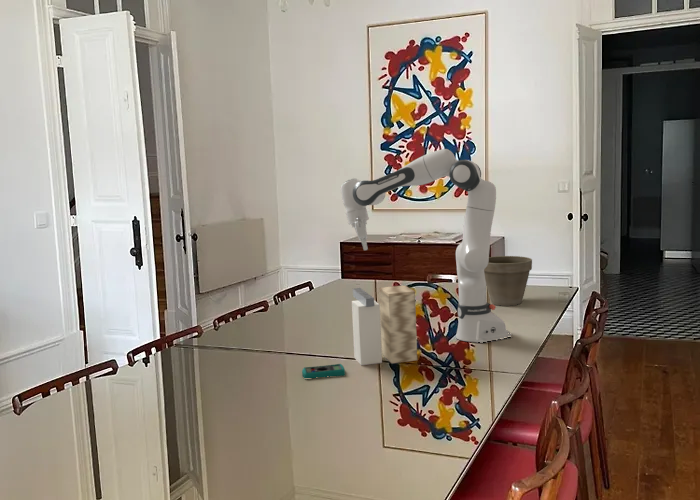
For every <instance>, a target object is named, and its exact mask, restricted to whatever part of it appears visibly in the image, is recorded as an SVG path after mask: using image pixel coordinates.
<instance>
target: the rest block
mask: <svg viewBox="0 0 700 500" xmlns="http://www.w3.org/2000/svg"><path fill="white" fill-rule="evenodd" d="M351 315H352V316H351V317H352V335H353V336H352V337H353V354H354V356H353V357H354V359H355V360H356V361H357V362H358V363H359V365H360V366H366V365H367V366H368V365H376V364H382V363H383V355H382V336H381V312H380V303H378V302H377V301H376V300H374V306H372V307H366V306H364V305H363V304H362V303H361V302H360V301H358V300H357V299H355V300H351Z"/></svg>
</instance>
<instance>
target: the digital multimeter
mask: <svg viewBox="0 0 700 500" xmlns="http://www.w3.org/2000/svg"><path fill="white" fill-rule="evenodd" d="M344 375H345V376H346V370H345V367H344V365H343V364H341V363H337V364H327V365H320V366H319V365H317V366H309V367H308V366H305V367H303V368H302V370H301V376H302V378H303V377H304V378H316V377H325V378H331V377H330V376H336V377H343V376H344ZM327 376H329V377H327ZM304 378H303V379H304ZM316 379H317V378H316Z"/></svg>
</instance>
